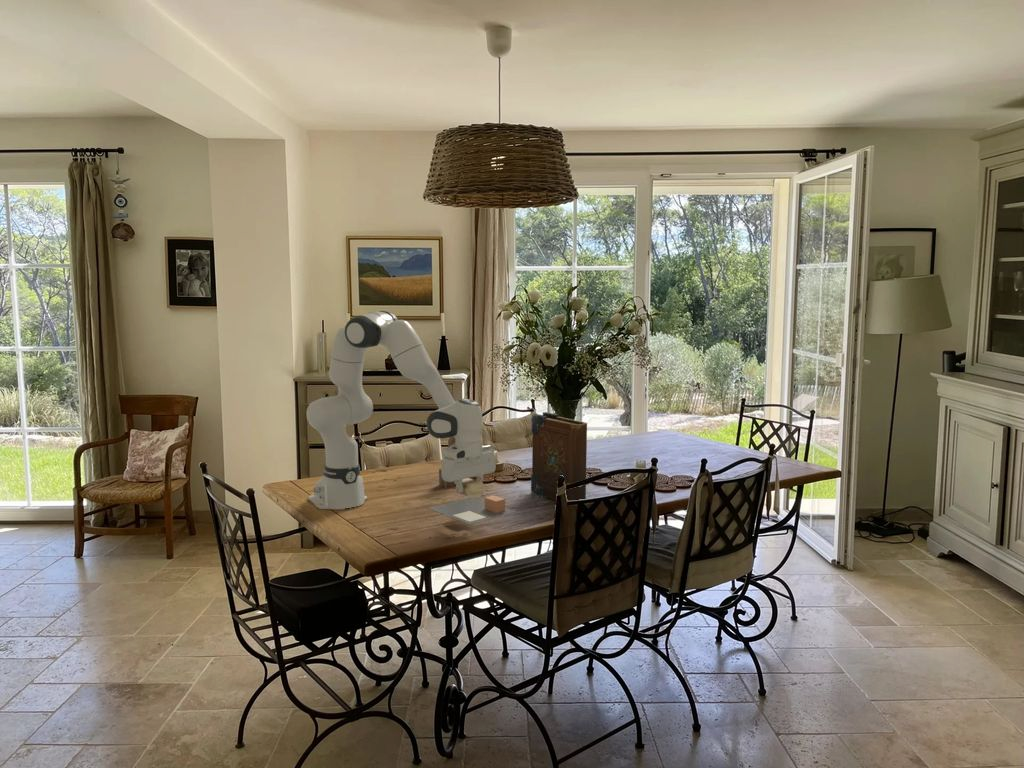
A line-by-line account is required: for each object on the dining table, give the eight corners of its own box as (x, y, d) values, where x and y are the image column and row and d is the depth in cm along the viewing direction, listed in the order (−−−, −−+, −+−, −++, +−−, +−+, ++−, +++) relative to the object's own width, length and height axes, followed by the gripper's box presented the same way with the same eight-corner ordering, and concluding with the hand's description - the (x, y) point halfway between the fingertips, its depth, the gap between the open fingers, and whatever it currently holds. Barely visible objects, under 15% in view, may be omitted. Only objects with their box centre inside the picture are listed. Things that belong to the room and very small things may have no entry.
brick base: (456, 492, 247) (456, 480, 246) (468, 489, 250) (468, 477, 249) (471, 497, 241) (471, 485, 240) (483, 494, 244) (483, 482, 243)
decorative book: (530, 493, 278) (531, 414, 274) (545, 490, 283) (545, 411, 279) (574, 508, 260) (575, 423, 256) (589, 504, 265) (590, 421, 261)
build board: (428, 512, 256) (427, 507, 255) (473, 500, 269) (473, 496, 269) (469, 529, 239) (469, 524, 238) (516, 516, 252) (516, 511, 252)
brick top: (484, 508, 255) (484, 497, 254) (493, 506, 257) (493, 495, 257) (496, 512, 250) (496, 501, 250) (505, 510, 253) (505, 499, 252)
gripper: (487, 442, 252) (487, 482, 254) (438, 452, 239) (438, 493, 241) (499, 445, 248) (499, 486, 250) (450, 455, 234) (450, 498, 236)
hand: (469, 490), depth 245 cm, fingers closed on brick base, 5 cm apart
